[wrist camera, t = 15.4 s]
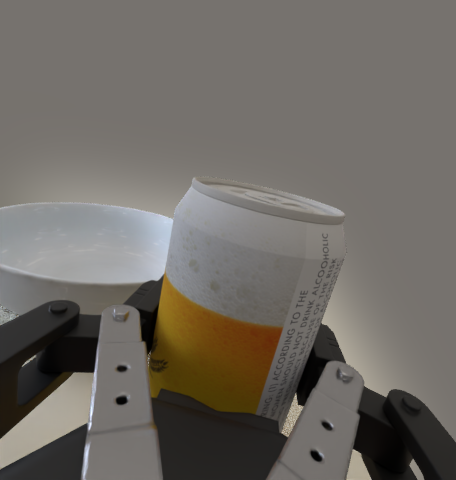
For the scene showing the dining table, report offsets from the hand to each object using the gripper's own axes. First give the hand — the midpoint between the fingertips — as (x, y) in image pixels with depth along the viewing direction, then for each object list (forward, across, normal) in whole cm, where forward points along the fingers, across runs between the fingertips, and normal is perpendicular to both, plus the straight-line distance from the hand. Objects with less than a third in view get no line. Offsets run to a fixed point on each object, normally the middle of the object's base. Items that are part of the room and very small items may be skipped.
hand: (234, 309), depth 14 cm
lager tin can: (-2, 0, +9) cm, 10 cm away
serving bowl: (+12, +13, +9) cm, 20 cm away
